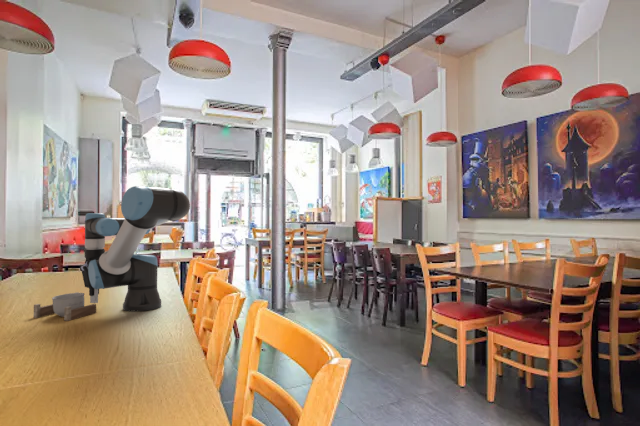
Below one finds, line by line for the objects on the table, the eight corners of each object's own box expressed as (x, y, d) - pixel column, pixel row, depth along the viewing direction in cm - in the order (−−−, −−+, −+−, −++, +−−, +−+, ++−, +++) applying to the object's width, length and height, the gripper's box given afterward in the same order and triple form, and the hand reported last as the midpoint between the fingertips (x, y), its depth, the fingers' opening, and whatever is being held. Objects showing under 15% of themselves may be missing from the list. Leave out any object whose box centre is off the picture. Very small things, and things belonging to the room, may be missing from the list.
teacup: (72, 318, 145) (72, 297, 145) (44, 318, 145) (45, 297, 145) (94, 309, 159) (95, 290, 159) (69, 309, 159) (69, 290, 159)
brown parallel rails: (96, 312, 153) (96, 300, 153) (67, 321, 141) (67, 307, 141) (64, 309, 158) (64, 298, 158) (33, 317, 146) (33, 304, 146)
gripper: (100, 247, 170) (99, 299, 170) (74, 249, 158) (73, 305, 157) (113, 247, 168) (113, 300, 168) (88, 250, 155) (87, 306, 155)
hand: (94, 302), depth 163 cm, fingers closed
